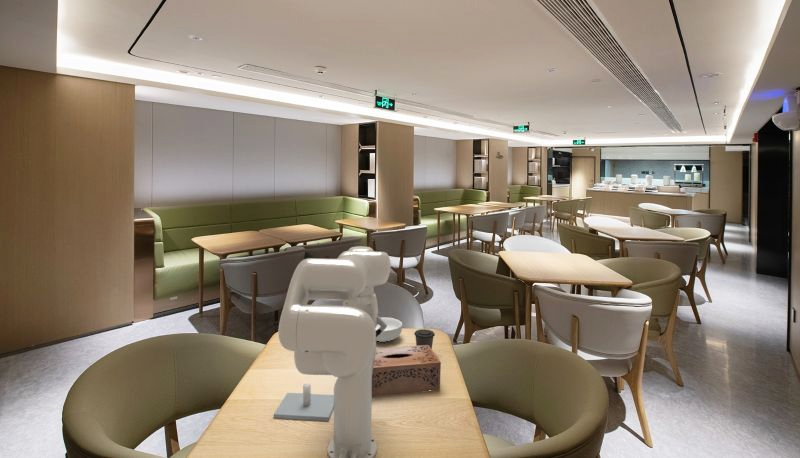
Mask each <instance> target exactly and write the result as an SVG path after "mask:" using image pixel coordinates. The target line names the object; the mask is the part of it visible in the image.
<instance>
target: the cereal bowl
mask: <svg viewBox="0 0 800 458" xmlns="http://www.w3.org/2000/svg"><path fill="white" fill-rule="evenodd" d="M379 317H380V318H381V319H382V320H383V321H384V322H385V323H386V324H387V327H386V329H385V330H383V331H382V332H381V333H380V334H379V335H378V336H377V337H376V341H379V342H378V343H380V342H385V343H387V342H386V341H389V342H391V341H392V340H395V339H397V338H398V337H400V335H401V334H402V331H403V323H402V321H400V320H399V319H396V318H393V317H385V316H384V317H381V316H379ZM380 327H381V326H380V325H379V324H378V325H376V328H375V329H376V330H377V329H379V328H380ZM390 340H391V341H390Z"/></svg>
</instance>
